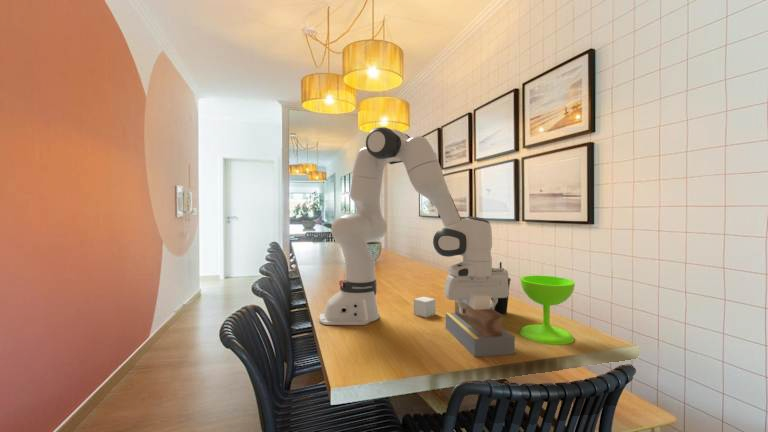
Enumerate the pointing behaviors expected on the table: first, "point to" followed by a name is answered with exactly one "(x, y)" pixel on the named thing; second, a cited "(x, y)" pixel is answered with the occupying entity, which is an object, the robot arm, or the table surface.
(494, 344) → the block
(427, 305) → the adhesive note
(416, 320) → the table surface
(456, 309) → the brown wooden block
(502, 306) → the drinking cup
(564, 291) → the wineglass
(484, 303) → the beige block
